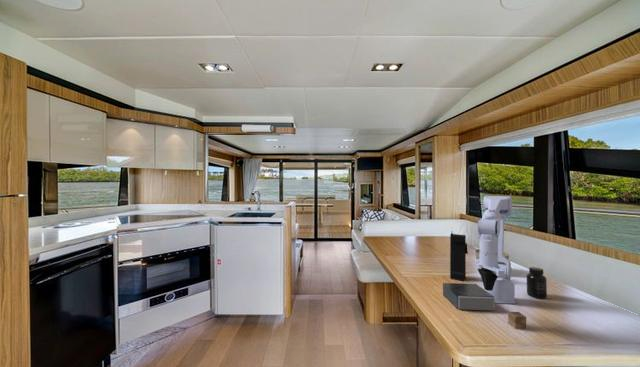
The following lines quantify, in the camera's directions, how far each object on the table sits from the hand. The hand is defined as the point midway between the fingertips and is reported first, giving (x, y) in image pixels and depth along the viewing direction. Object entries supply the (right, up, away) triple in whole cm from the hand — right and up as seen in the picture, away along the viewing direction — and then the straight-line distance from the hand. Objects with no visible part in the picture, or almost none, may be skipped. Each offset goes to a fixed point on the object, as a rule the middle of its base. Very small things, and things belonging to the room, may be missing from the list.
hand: (488, 289), depth 95 cm
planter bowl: (+36, -11, +53) cm, 65 cm away
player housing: (0, -11, +13) cm, 17 cm away
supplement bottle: (+34, -11, +20) cm, 41 cm away
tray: (0, -11, +13) cm, 17 cm away
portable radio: (+11, -11, +41) cm, 44 cm away
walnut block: (+7, -10, -5) cm, 13 cm away
